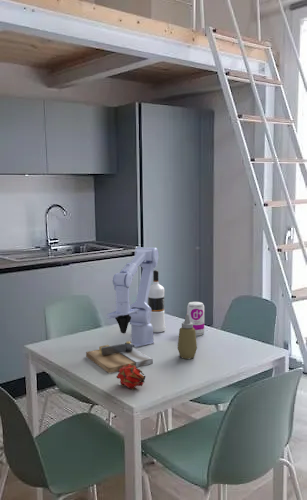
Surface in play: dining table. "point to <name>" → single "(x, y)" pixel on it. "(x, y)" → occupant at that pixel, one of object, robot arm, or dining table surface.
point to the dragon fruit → (130, 376)
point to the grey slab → (118, 359)
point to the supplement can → (196, 316)
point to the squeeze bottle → (187, 339)
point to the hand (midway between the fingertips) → (123, 332)
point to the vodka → (157, 304)
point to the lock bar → (117, 348)
